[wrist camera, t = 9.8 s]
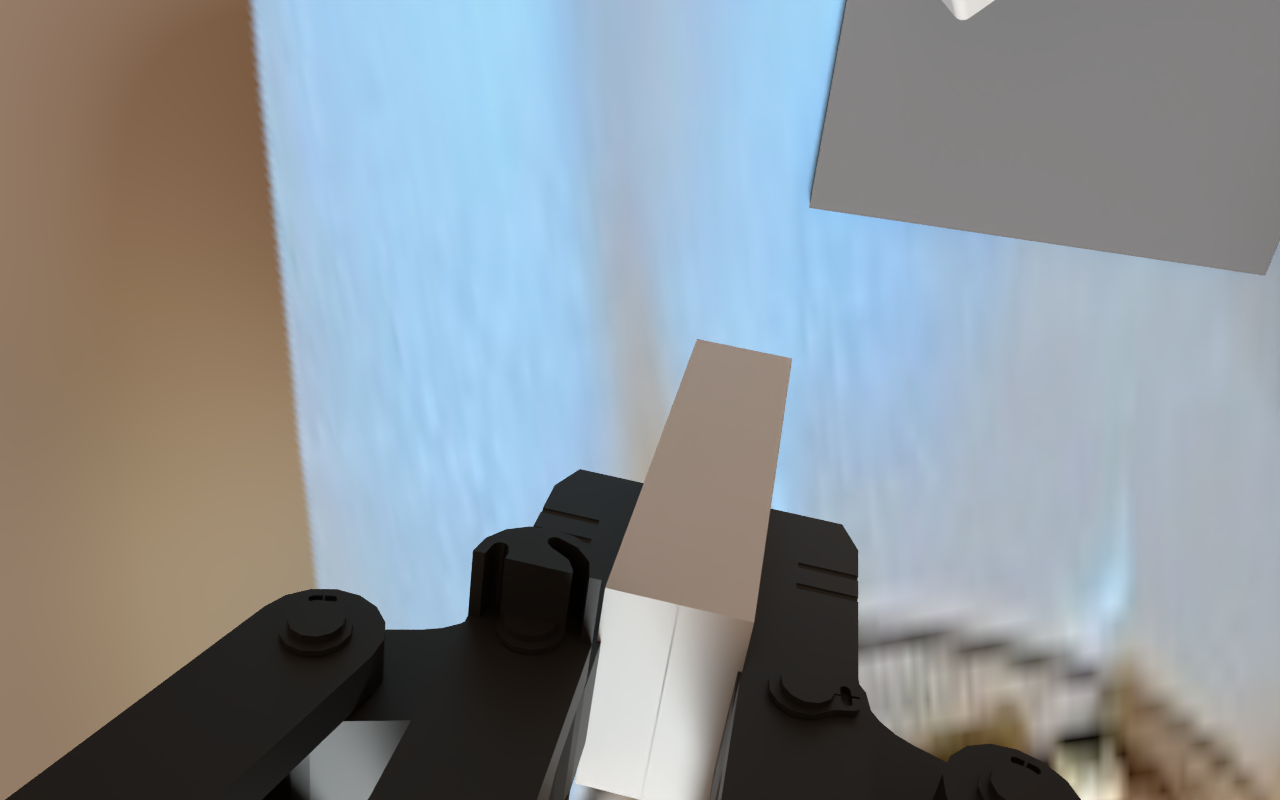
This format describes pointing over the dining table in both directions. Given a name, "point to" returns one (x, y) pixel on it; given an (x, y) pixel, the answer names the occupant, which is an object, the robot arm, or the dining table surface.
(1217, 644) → the dining table surface
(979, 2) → the jar
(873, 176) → the mat
